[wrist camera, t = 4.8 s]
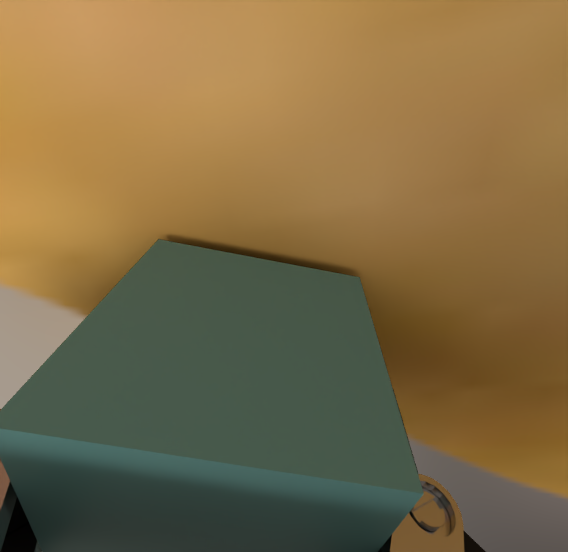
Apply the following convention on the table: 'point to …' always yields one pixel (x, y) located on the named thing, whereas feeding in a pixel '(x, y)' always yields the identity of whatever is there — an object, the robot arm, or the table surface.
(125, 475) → the teal block
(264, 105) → the table surface
